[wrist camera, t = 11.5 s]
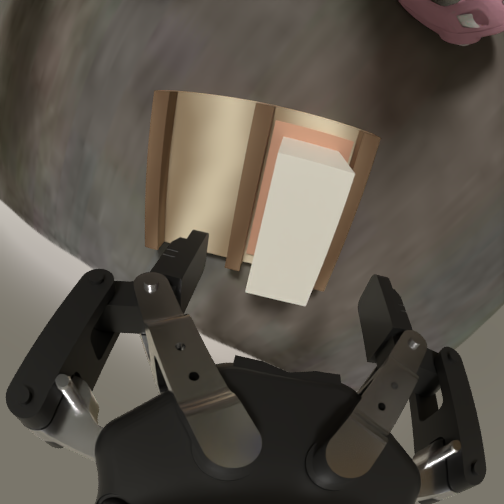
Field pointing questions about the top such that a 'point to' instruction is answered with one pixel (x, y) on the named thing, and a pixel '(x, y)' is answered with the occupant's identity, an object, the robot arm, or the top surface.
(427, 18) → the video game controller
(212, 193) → the slot rack
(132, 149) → the top surface
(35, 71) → the top surface
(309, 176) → the plug block
